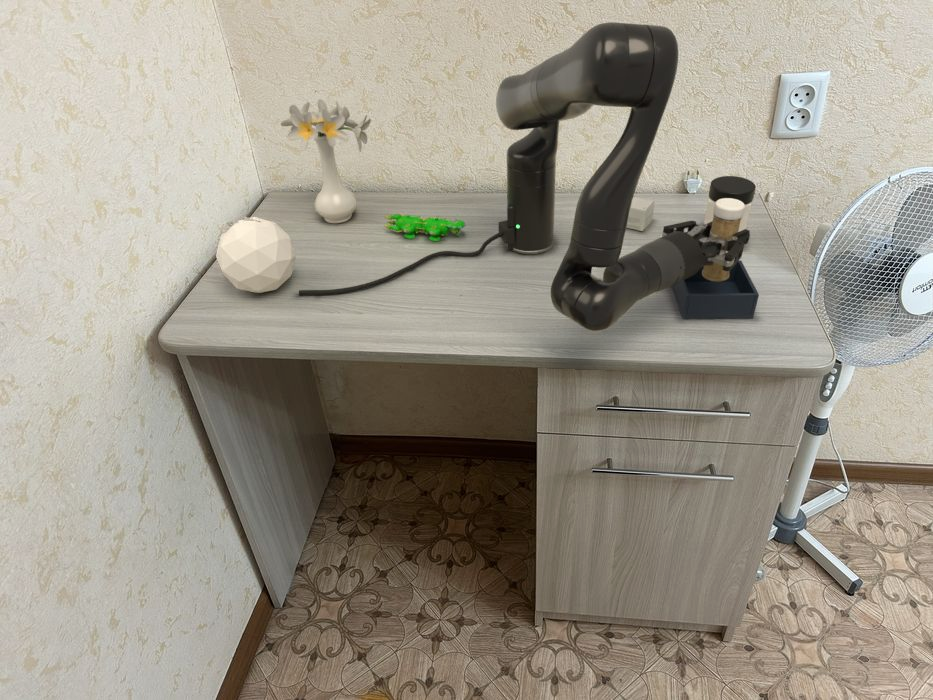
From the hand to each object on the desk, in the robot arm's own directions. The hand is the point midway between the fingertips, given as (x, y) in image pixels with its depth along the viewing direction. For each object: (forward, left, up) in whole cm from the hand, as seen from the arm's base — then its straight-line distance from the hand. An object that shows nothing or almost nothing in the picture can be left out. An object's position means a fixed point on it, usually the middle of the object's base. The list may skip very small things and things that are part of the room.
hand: (733, 229), depth 113 cm
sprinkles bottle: (-2, -2, -8) cm, 8 cm away
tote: (-2, -2, -13) cm, 13 cm away
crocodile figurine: (-55, +25, -13) cm, 62 cm away
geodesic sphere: (-84, +5, -13) cm, 85 cm away
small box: (-11, +28, -13) cm, 33 cm away
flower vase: (-75, +34, -13) cm, 83 cm away
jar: (+5, +20, -13) cm, 24 cm away
